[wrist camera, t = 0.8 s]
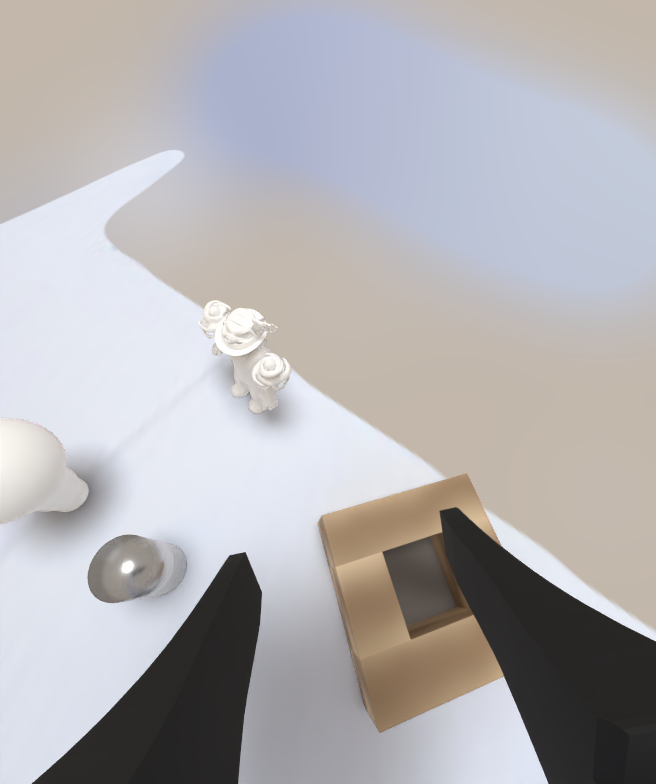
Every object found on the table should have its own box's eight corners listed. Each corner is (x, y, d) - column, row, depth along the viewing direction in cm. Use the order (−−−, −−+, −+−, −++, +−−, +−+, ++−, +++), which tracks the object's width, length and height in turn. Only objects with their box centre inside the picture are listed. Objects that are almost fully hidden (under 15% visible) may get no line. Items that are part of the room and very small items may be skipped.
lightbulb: (94, 445, 29) (-5, 380, 19) (133, 497, 27) (47, 455, 18) (17, 496, 26) (-139, 451, 17) (56, 557, 25) (-93, 547, 15)
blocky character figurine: (299, 412, 32) (303, 334, 22) (267, 439, 31) (255, 368, 20) (239, 354, 35) (217, 258, 24) (207, 375, 33) (168, 283, 23)
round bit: (188, 586, 25) (155, 591, 19) (138, 602, 24) (86, 612, 18) (184, 538, 26) (152, 527, 20) (137, 551, 25) (88, 544, 19)
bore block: (515, 642, 25) (552, 654, 21) (365, 708, 22) (379, 732, 19) (446, 485, 30) (466, 473, 27) (317, 523, 28) (321, 515, 24)
